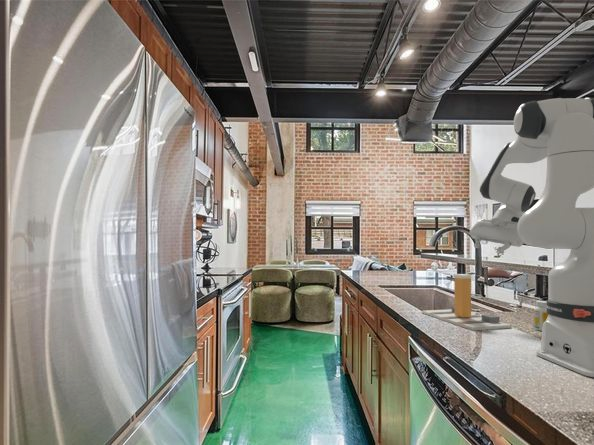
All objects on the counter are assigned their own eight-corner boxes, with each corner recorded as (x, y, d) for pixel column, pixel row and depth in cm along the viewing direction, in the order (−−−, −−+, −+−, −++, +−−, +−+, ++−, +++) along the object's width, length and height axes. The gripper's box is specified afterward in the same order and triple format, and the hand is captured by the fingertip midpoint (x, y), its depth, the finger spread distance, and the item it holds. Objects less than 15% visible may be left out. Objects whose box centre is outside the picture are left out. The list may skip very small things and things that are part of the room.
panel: (511, 327, 122) (511, 319, 122) (472, 330, 118) (472, 321, 118) (455, 311, 149) (455, 304, 149) (422, 313, 145) (422, 305, 145)
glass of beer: (471, 317, 132) (471, 275, 133) (462, 317, 131) (461, 275, 132) (463, 314, 136) (463, 274, 137) (454, 315, 135) (454, 274, 136)
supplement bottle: (531, 329, 120) (531, 301, 121) (537, 327, 124) (536, 299, 124) (550, 333, 116) (550, 303, 117) (555, 330, 120) (555, 301, 120)
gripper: (476, 214, 148) (460, 240, 145) (528, 220, 130) (511, 250, 127) (482, 223, 151) (466, 249, 148) (533, 230, 133) (517, 260, 130)
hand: (487, 249), depth 137 cm, fingers open, 8 cm apart
